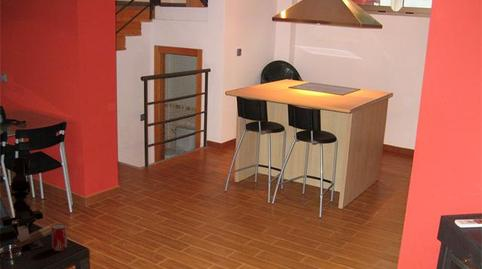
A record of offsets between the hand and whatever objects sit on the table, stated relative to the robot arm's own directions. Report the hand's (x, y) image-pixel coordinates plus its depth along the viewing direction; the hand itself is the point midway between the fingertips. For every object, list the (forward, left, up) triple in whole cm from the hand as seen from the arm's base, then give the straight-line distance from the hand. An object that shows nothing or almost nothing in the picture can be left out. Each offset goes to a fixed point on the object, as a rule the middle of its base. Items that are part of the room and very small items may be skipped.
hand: (22, 234), depth 254 cm
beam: (0, +6, -3) cm, 6 cm away
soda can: (+11, +14, -7) cm, 19 cm away
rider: (0, 0, -3) cm, 3 cm away
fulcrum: (0, +6, -7) cm, 9 cm away
